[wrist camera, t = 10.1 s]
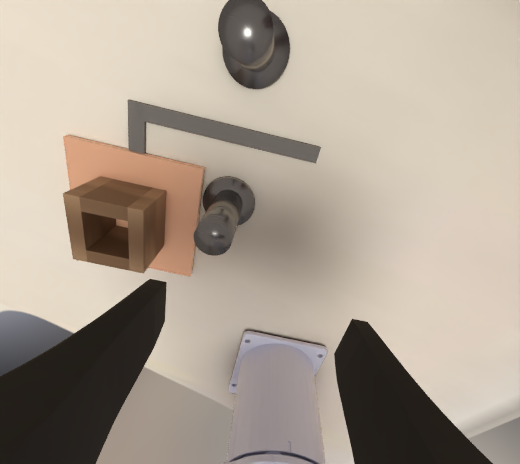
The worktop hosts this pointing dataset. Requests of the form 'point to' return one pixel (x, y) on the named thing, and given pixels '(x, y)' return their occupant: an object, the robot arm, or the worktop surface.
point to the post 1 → (253, 43)
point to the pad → (152, 175)
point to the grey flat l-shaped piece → (210, 132)
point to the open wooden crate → (104, 223)
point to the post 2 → (223, 214)
